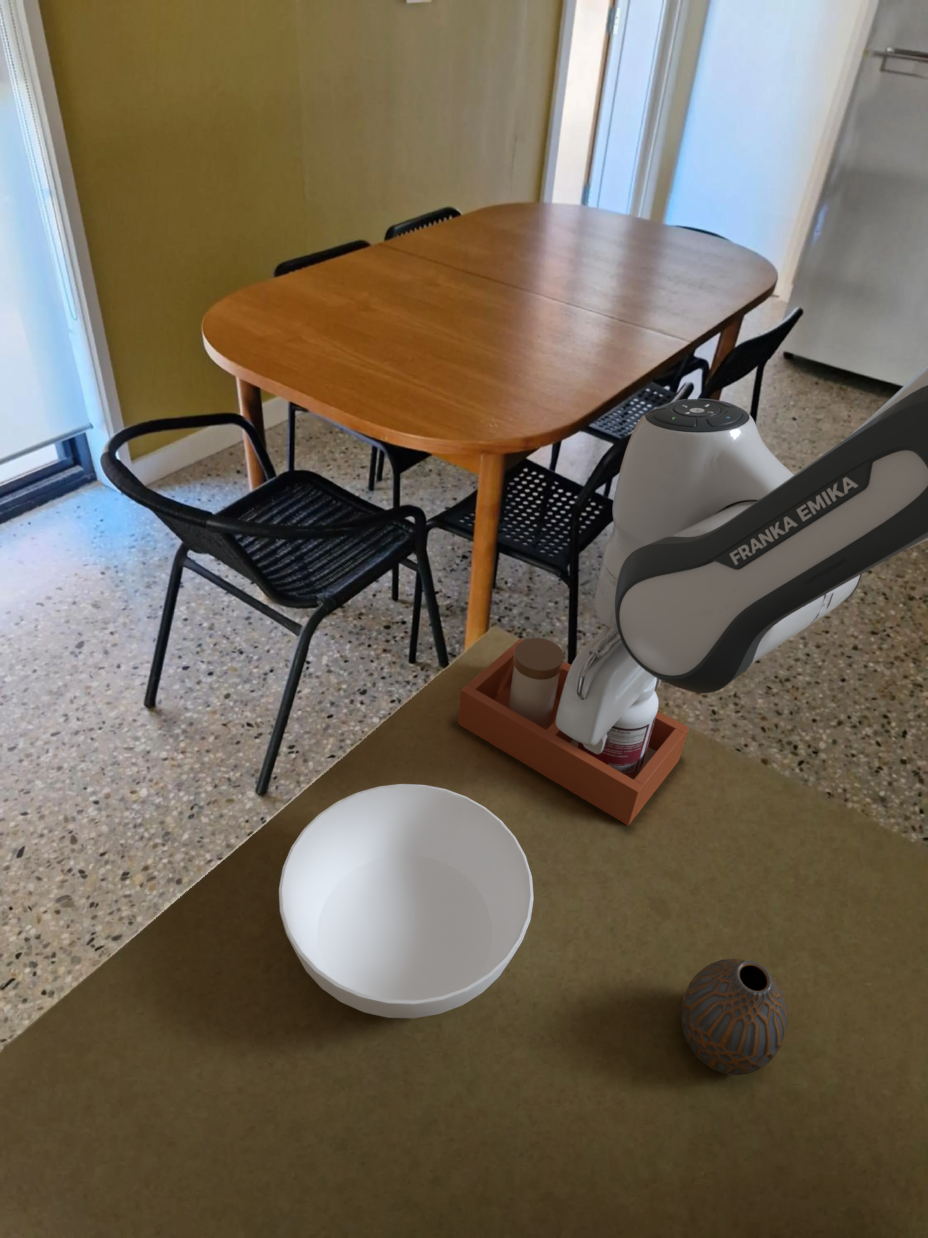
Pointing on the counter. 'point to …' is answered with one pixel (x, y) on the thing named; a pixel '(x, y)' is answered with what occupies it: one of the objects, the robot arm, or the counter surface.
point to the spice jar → (535, 679)
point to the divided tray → (566, 744)
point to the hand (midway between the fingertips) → (621, 716)
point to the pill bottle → (630, 735)
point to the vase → (734, 1016)
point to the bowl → (405, 899)
